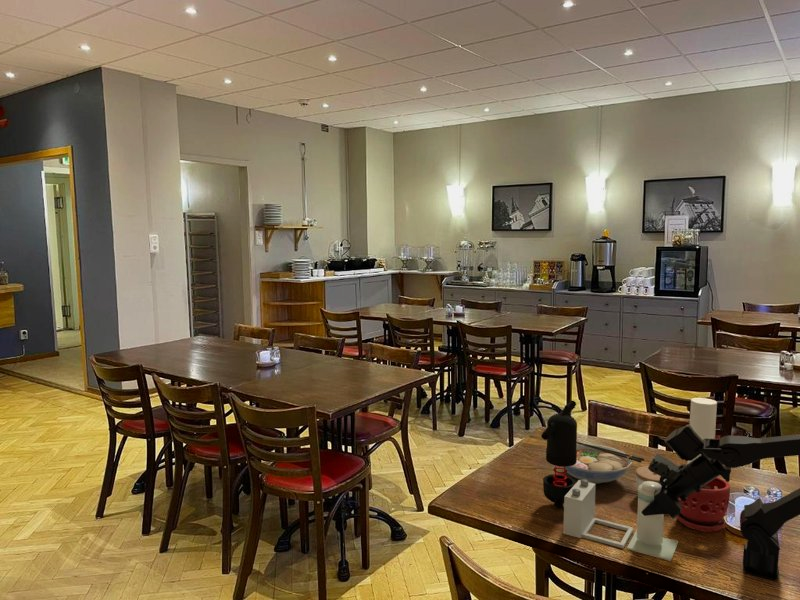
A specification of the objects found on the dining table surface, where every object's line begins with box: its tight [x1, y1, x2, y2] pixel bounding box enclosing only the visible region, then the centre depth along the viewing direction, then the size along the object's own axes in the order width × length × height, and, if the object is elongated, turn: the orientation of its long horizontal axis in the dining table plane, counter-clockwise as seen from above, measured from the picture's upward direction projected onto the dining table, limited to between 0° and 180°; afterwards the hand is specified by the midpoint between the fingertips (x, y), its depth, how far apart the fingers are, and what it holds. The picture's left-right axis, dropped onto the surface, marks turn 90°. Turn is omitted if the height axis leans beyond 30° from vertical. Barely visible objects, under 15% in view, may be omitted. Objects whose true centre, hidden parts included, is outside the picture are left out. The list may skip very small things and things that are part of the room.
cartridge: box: [636, 481, 665, 545], centre depth 149 cm, size 6×6×14 cm
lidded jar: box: [635, 465, 661, 490], centre depth 175 cm, size 11×11×9 cm
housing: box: [563, 479, 635, 550], centre depth 156 cm, size 15×12×11 cm
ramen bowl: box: [562, 441, 645, 485], centre depth 189 cm, size 25×23×8 cm
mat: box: [626, 529, 679, 562], centre depth 150 cm, size 10×10×1 cm
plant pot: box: [676, 476, 731, 533], centre depth 160 cm, size 13×13×12 cm
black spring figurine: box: [540, 400, 578, 509], centre depth 168 cm, size 14×9×30 cm
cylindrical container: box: [687, 397, 718, 464], centre depth 187 cm, size 7×7×25 cm
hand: (644, 508), depth 150 cm, fingers closed on cartridge, 6 cm apart
